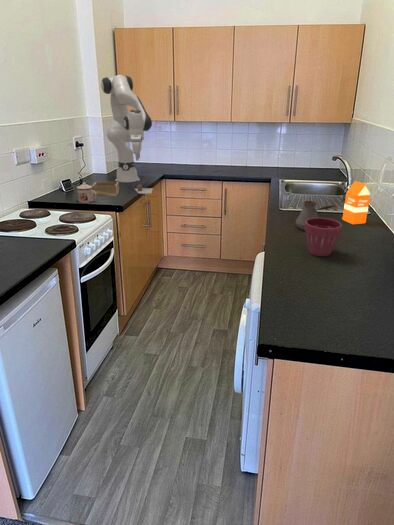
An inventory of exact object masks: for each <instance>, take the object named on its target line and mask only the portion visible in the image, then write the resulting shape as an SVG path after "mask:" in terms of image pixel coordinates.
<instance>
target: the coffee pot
mask: <svg viewBox="0 0 394 525" xmlns="http://www.w3.org/2000/svg"><path fill="white" fill-rule="evenodd" d="M302 204H303V207H302V210H301V211H300V213H299V214H298V217H297V218H296V220H295V225H296V226H297V228H298V229H299V230H302V231H305V222H306V220H308V219H310V218H319V216H318V213H317V211H321V210H327V209H332V210H334V208H337V206H335V205H334V204H333V205H328V206H327V205H326V206H323V207H318V208H316V206H317V204H318V202H316V201H312V200H305V201H303V202H302Z"/></svg>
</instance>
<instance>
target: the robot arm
mask: <svg viewBox="0 0 394 525" xmlns="http://www.w3.org/2000/svg"><path fill="white" fill-rule="evenodd" d="M100 87H101V90H102V92H103V93H104V94H106V95H107V94H108V95H110V96H109V97H110V98H109V99H110V100H109V101H110V107H111V111H112V116H113V120H114V121H116V122H117V123H119V124H120V125H121V126H112V127H110V128H108V129H107V131H106V139H107V140H108V141H109V142H110V143H112V144H113V145H114V147H115V148H116V151H117V157H118V158H117V159H118V162H117V166H118V168H117V169H116V178H115V179H114V182H119V183H134V182H140V181H141V179H140V177H139V176H138V170H137V169H136V167H135V165H136V164H135V161H136V162H138V161H139V160H140V158H141V151H142V143H143V141H144V139H145V134H144V131H145V132H148V131H149V130H150V129H151V128H152V126H153V123H152V122H153V121H152V118H151V117H150V115H149V114H148V112H147V111H146V109H145V107H144V105H143V103H142V101H141V99H140V98H139V96H138V95H137V94H135V93H134V92H133V89H134V81H133V78H131V76H129V75H125V76H124V75H122V74H117V75H115V76H109V77H103V78H102V79H101V83H100ZM128 106H129V107H131V108H134V109H131V110H128ZM126 143H131V146H132V148H130V147H129V146H127V145H126ZM134 156H135V157H134ZM134 158H135V161H134Z"/></svg>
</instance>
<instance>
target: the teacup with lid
mask: <svg viewBox="0 0 394 525" xmlns="http://www.w3.org/2000/svg"><path fill="white" fill-rule="evenodd" d="M76 190H77V191H76V192H77V199H78V202H79V203H87V204H92V203H93V202H94V199H96V198H97V196H96V192H95V191H93V190H92V185H89V184H87V183H86V182H82V184H80V185H79V186H76ZM93 192H94V194H95V196H93Z"/></svg>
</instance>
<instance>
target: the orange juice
mask: <svg viewBox="0 0 394 525" xmlns="http://www.w3.org/2000/svg"><path fill="white" fill-rule="evenodd" d="M370 200H371V192H370V191H369V188H368V186H367V183H362V182H360V181H357V180H354V182H353V183H352V184H351V186H350V187H349V188H348V189H347V191H346V194H345V200H344V206H343V214H342V217H341V218H342V220H343V221H344V222H346V223H349V224H351V225H359V224H366V222H367V218H368V217H367V216H368V212H369V204H370Z"/></svg>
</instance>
